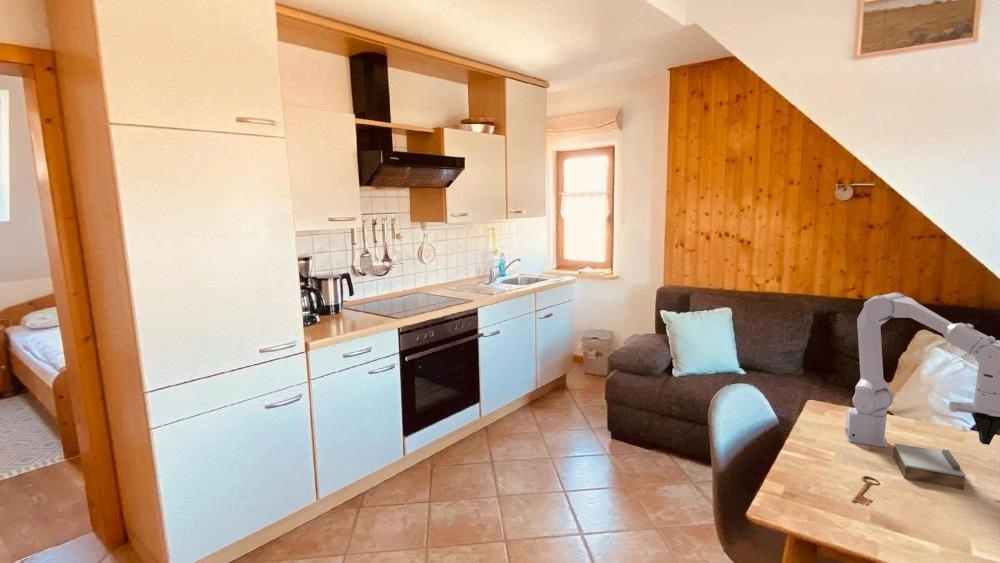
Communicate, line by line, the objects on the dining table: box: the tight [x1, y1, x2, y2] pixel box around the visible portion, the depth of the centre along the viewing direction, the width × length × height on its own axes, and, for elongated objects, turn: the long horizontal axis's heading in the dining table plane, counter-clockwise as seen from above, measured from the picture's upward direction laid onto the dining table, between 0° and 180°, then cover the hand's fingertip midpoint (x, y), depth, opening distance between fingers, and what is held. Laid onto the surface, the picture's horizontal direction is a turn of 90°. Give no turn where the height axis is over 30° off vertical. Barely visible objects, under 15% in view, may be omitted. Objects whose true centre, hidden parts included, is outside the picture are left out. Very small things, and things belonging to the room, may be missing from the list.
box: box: [892, 446, 966, 490], centre depth 132 cm, size 12×13×3 cm
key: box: [851, 475, 881, 507], centre depth 124 cm, size 6×1×15 cm
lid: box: [893, 443, 966, 478], centre depth 131 cm, size 12×13×2 cm
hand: (984, 442), depth 126 cm, fingers closed
